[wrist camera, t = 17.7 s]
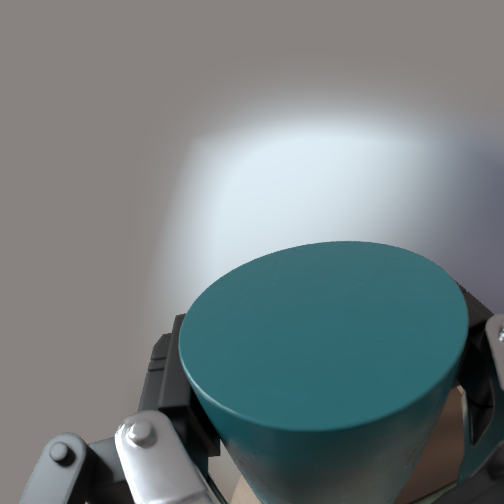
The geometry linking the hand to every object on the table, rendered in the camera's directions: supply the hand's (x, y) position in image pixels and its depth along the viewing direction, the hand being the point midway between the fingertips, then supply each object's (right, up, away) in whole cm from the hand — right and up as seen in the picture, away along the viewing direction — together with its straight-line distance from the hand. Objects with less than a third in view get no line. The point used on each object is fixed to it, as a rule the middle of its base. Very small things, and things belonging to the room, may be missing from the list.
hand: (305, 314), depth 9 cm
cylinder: (+2, -10, +2) cm, 10 cm away
